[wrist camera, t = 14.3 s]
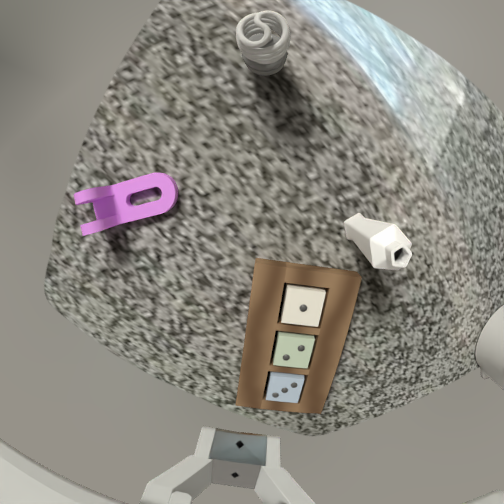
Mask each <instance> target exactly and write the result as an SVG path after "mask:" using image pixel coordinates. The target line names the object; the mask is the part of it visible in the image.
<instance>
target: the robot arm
mask: <svg viewBox="0 0 504 504" xmlns="http://www.w3.org/2000/svg"><path fill="white" fill-rule="evenodd" d="M475 356H476V361H477V363H478V365H479V366H480V368H481V376H482V378H484V379H487V378H491V379H492V380H493V381H494V382H495V383H496V384H497V385H498V386H499V387H500V388H502V389H503V390H504V305H503V306H502V307H500V308H499V309H498V310H497V311H496V312H495V313H494V314H493V315H492V316H491V318H490V319H489V320H488V322H487V323H486V325H485V327H484V328H483V330H482V332H481V334H480V337H479V339H478V342H477V346H476V353H475ZM280 439H281V438H280V437H279V436H271V435H262V434H252V433H244V432H234V431H229V430H223V429H218V428H212V427H207V426H203V427H202V429H201V433H200V436H199V440H198V444H197V447H196V451H195V454H194V456H193V455H190V456H188V457H187V458H185V459H184V460H182V461H181V462H179V463H178V464H176V465H175V466H173V467H172V468H170V469H169V470H167V471H165V472H164V473H162V474H161V475H159V476H158V477H156V478H154V479H153V480H151V481H150V482H148V483H147V486H146V488H145V491H144V494H143V496H142V499H141V501H140V503H139V504H192V501H193V500H194V499H195V498H196V497H197V496H198V495H199V494H201V493H202V492H203V491H204V490H205V489H206V488H207V487H208V486H209V485H211V483H214V484H221V485H229V486H237V487H243V488H250V489H255V492H256V493H257V495H258V496H259V498H260V500H261V501H262V503H263V504H315V503H314V502H313V500H312V499H311V498H310V497H309V496H308V495H307V494H306V493H305V491H304V490H303V489H302V488H301V487H300V486H299V485H298V483H297V482H296V481H295V480H294V479H293V478H292V476H291V475H290V474H289V473H288V472H287V470H286V469H285V468H281V441H280ZM0 504H127V503H124V502H121V501H119V500H116V499H113V498H111V497H108V496H105V495H103V494H101V493H98V492H96V491H94V490H91V489H89V488H87V487H84V486H82V485H80V484H78V483H76V482H74V481H71V480H69V479H67V478H65V477H63V476H61V475H59V474H57V473H56V472H54V471H52V470H50V469H48V468H46V467H44V466H43V465H41V464H39V463H38V462H36V461H34V460H33V459H31V458H29V457H28V456H26V455H24V454H23V453H21V452H20V451H18V450H17V449H15V448H14V447H12V446H11V445H9V444H8V443H6V442H5V441H3V440H2V439H0ZM462 504H504V492H503V491H501V490H496V491H492V492H490V493H488V494H485V495H483V496H480V497H478V498H476V499H473V500H470V501H468V502H465V503H462Z"/></svg>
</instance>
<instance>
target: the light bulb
mask: <svg viewBox="0 0 504 504" xmlns="http://www.w3.org/2000/svg"><path fill="white" fill-rule="evenodd" d="M270 29H271V30H273V31H275V32H276V33H277V34H278V35H279V36H280V38H279V37H277V36H275V35H273V34H271V30H270ZM259 33H260V34H259ZM254 34H256V35H254ZM252 35H253V36H252ZM236 39H237V43H238V47H239V49H240V50H241V52H242V57H243V60H244V62H245V64H246V65H247V67H248V68H249V69H250V70H251V71H252V72H254V73H256V74H258V75H272V74H275V73H277V72H279V71H280V70H281V69H282V68H283V66H284V64H285V61H286V58H287V55H288V53H287V49H288V47H289V45H290V29H289V25H288V23H287V21H286V20H285V18H284V17H283V16H282V15H280V14H279V13H277V12H274V11H262V12H259V13H253V14H250V15H248V16H246V17H244V18H243V19H242V20H241V21H240V22H239V23H238V25H237V28H236Z"/></svg>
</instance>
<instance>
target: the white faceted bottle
mask: <svg viewBox="0 0 504 504" xmlns="http://www.w3.org/2000/svg"><path fill="white" fill-rule="evenodd" d="M344 226H345V231H346V238H347V239H348V240H353V241H354V242H355V244H356V245H357V246H358V248H359V249H360V250H361V251H362V253H363V254H364V255H365V257H366V258H367V259H368V261H369V262H370V263H371V265H372V266H373V267H374V268H379V269H390V270H399V269H400V268H401V267H406V266H407V264H408V262H409V260H410V258H411V256H412V252H411V251H410V248H411V245H412V243H411V242H410V241H409V239H408V238H407V237H406V236H405V235H404V234H403V233H402V231H401V230H400V229H399V228H398V227H397V226H396V225H395V224H390V223H386V222H381V221H376V220H372V219H367V218H364V217H363V216H362V215H361V214H360V213H358V214H356V215H354V216H353V217H351V218H349V219H347V220H346V221H344Z"/></svg>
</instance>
